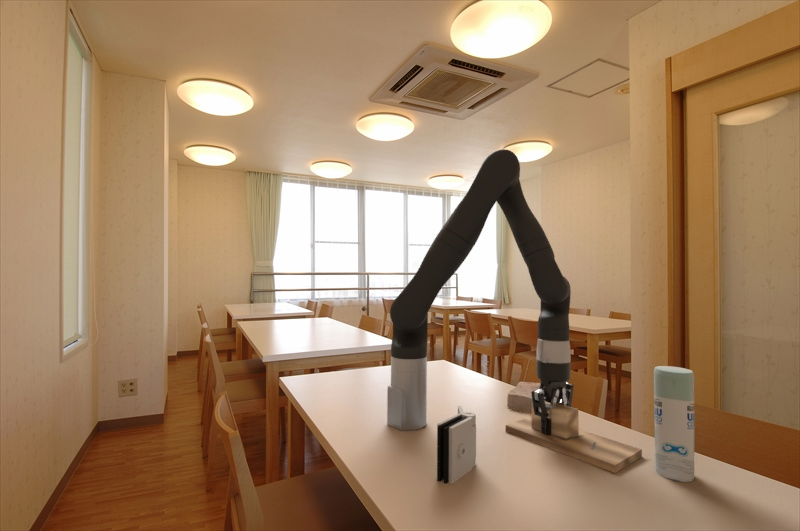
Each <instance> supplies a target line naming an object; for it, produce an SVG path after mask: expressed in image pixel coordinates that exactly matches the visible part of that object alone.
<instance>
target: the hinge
mask: <svg viewBox="0 0 800 531" xmlns="http://www.w3.org/2000/svg"><path fill="white" fill-rule="evenodd" d="M476 421H477V417H476V413H475V412H472V411H464V410H463V406H462V405H457V414H455V415H453V416H451V417H449V418H447V419H445V420H442V421H441V422H438V423H437V425H436V429H437V430H436V436H437V437H436V445H437V446H436V454H437V455H436V460H437V461H436V481H438V482H442V481H443V484H445V485H446V484H448V483H449V484H451V485H453V484H454V483H456V482H457V481H459V479H461V478H462V477H464V476H465V475H467V474H468V473H469V472H471V471H472V470H473V468H474V467H475V466H476V459H477V458H476V457H477V422H476Z"/></svg>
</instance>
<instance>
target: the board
mask: <svg viewBox="0 0 800 531" xmlns="http://www.w3.org/2000/svg"><path fill="white" fill-rule="evenodd" d="M505 432H506V433H508V434H511V435H513V436H517V437H519V438H522V439H525V440H527V441H530V442H532V443H535V444H538V445H541V446H543V447H545V448H548V449H551V450H553V451H557V452H558V453H561V454H563V455H566V456H568V457H569V456H570V457H572V458H574V459H577V460H580V461H582V462H586V463H588V464H589V465H593V466H595V467H598V468H601V469H603V470H606V471H609V472H611V473H614V474H616V473H617V472H619V471H620V470H622V469H625V467H627V466H629V465H630V464H632V463H634V462H635V461H637V460H639V459H640V458H642V457H643V449H642V448H638V447H635V446H633V445H629V444H627V443H623V442H620V441H616V440H613V439H610V438H607V437H604V436H601V435H598V434H594V433H591V432H589V431H586V430H582V429H579V435H578V436H576V437H574V438H571V439H569V440H567V441H566V440H564V439H561V438H558V437H555V436H552V435H546V434H543V433H542V432H541V431H538V430H535V429H532V415H530V416H528V417H526V418H522V419H519V420H516V421H514V422H511V423H507V424H505Z"/></svg>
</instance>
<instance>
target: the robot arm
mask: <svg viewBox="0 0 800 531" xmlns="http://www.w3.org/2000/svg"><path fill="white" fill-rule="evenodd" d="M520 174H521V165H520V160H519V158H518V156H517V155H516V154H515V153H514V152H513V151H512V150H509V149H505V148H503V149H502V148H501V149H497V150H495V151H493V152H491V153H490V154H488V155H487V156H486V157H485V159H484V160H483V162H482V164H481V166H480V168H479V170H478V172H477V173H476V175H475V178H474V179H473V182H472V183H471V185H470V187H469V188H468V190H467V192H466V193H465V195H464V197H463V198H462V199H461V200H460V202H459V203H458V204H457V206H456V208H455V209H454V210H453V212H452V213H451V214H450V216H449V217H448V218H447V220H446V222H445V223H444V224H443V226H442V227H441V229H440V230H439V232H438V233H437V235H436V236H435V238H434V240H433V242H432V243H431V244H430V246H429V248H428V250H427V251H426V254H425V255H424V256H423V260H422V261H421V264H420V265H419V267H418V269H417V271H416V272H415V274H414V275H413V277H412V278H411V280H410V281H409V282H408V283H407V285H406V286H405V287H404V288H403V290H402V291H401V292H400V293H399V294H398V296H397V297H396V298H395V299H394V300H393V301H392V303H391V305H390V308H389V317H390V320H391V323H392V339H391V345H390V385H388V386H387V393H386V394H387V396H386V397H387V398H386V399H387V400H386V401H387V403H386V405H387V408H386V409H387V410H386V412H387V413H386V415H387V416H386V418H387V420H386V421H387V422H386V424H387V425H389V426H392V427H393V428H396V429H398V430H400V431H408V430H410V431H411V430H413V431H414V430H419V429H422V428H424V427H426V425H427V404H428V403H427V402H428V401H427V394H428V393H427V387H428V386H427V385H428V384H427V380H428V376H427V375H428V374H427V373H428V371H427V370H428V368H427V366H428V362H427V361H428V356H427V355H428V340H429V339H428V335H429V334H428V330H429V329H428V327H429V326H428V325H429V323H428V322H429V321H428V319H429V316H428V315H429V311H430V308H431V307H432V305H433V303H434V302H435V300H436V297H437V296H438V295H439V293H440V291H441V289H442V288H443V287H444V286H445V285H446V283H447V282H448V281H449V280H450V279H451V278H452V277H453V275H454V274H455V273H456V272H457V271H458V270H459V268H461V265H462V264H463V263H464V262H465V260H466V259H467V257H468V256H469V254H470V252H471V251H472V250H473V248H474V247H475V245H476V243H477V242H478V239H479V238H480V236H481V233H482V231H483V229H484V226H485V224H486V222H487V219H488V217H489V215H490V213H491V211H492V209H493V207H494V206H495V205H496V203H497V204H498V206H499V207H500V209H501V210H502V213H503V215H504V217H505V219H506V221H507V223H508V225H509V228H510V230H511V233H512V236H513V239H514V240H515V243H516V245H517V248H518V249H519V253H520V254H521V257H522V259H523V261H524V263H525V265H526V266H527V270H528V273H529V277H530V280H531V283H532V286H533V288H534V291H535V293H536V295H537V296H538V298H539V299H540V314H539V315H538V316H539V317H538V318H537V319H538V320H537V342H536V364H535V365H536V372H535V373H536V377H537V378H538V379H539V380H540V389H539V390H537V391H535V390H533V391H532V393H531V394H532V401H533V408H534V414H535V415H537V416H540V417H541V432H542V433H543V434H546V435H550V434H551V419H550V418H551V415H552V409H555V405H556V403H557V404H560V405H566V406H570V407H572V402H573V394H574V384H573V383H568V382H569V381H570V380H571V376H572V375H571V365H572V364H571V353H572V352H571V343H570V316H569V315H570V306H571V294H572V293H571V292H572V291H571V284H570V282H569V280H568V279H567V278H566V277H565V276H563V273H562V272H561V269H560V267H559V265H558V264H557V262H556V259H555V253H554V250H553V248H552V245H551V243H550V241H549V239H548V237H547V234H546V233H545V230H544V229H543V227H542V225H541V224H540V222H539V220H538V219H537V217H536V216H535V215H534V213H533V212H532V210H531V208H530V206H529V204H528V202H527V201H526V200H527V199H526V198H525V194H524V191H523V189H522V188H523V187H522V184H521V180H520V176H521V175H520ZM545 401H546V402H548V403H551V404H546V403H545ZM538 407H539V408H540V411H539V408H538ZM546 407H547V408H548V411H547V413H546Z"/></svg>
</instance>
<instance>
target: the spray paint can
mask: <svg viewBox="0 0 800 531" xmlns="http://www.w3.org/2000/svg"><path fill="white" fill-rule="evenodd" d="M653 402H654V404H653V405H654V416H653V417H654V459H655V460H654V461H655V462H654V463H655V464H654V465H655V466H654V468H655V471H656V473H657V474H658V475H660V476H662V477H663V478H666V479H669V480H672V481H676V482H681V483H682V482H683V483H685V482H686V483H689V482H692V481H694V480H695V374H694V371H693V370H691V369H688V368H684V367H679V366H670V365H659V366H655V367H654V370H653Z"/></svg>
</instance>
